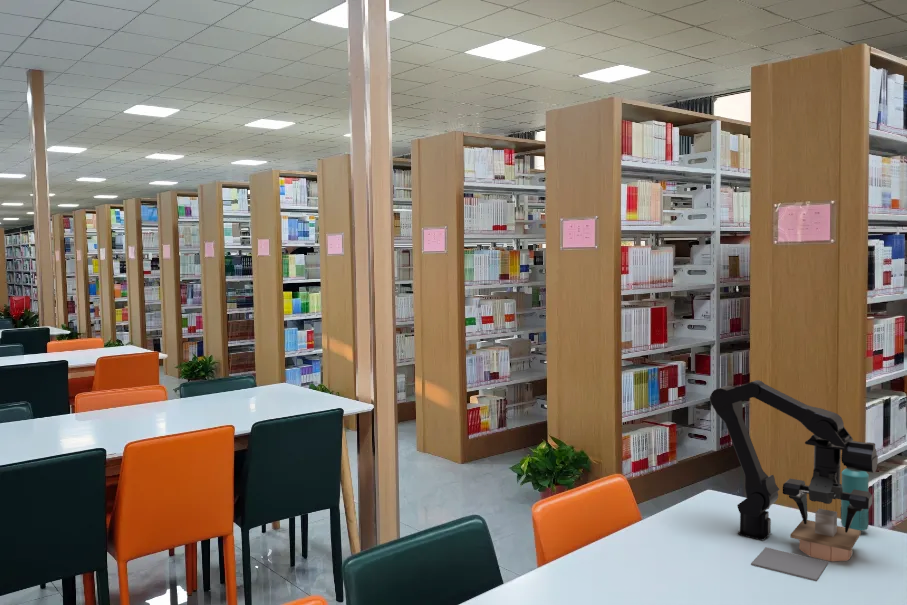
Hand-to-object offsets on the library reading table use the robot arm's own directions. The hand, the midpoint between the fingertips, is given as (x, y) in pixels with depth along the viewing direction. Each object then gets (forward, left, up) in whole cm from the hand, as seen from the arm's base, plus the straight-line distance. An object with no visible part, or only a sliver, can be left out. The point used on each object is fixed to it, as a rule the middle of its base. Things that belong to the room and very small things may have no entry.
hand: (825, 527), depth 172 cm
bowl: (0, 0, -6) cm, 6 cm away
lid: (0, 0, -2) cm, 2 cm away
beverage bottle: (+3, +19, -6) cm, 20 cm away
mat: (-5, -13, -6) cm, 15 cm away
